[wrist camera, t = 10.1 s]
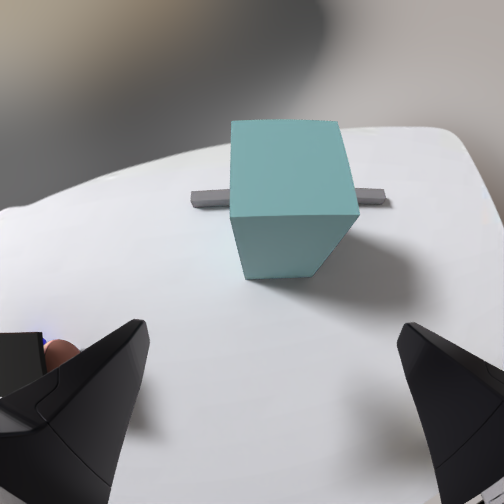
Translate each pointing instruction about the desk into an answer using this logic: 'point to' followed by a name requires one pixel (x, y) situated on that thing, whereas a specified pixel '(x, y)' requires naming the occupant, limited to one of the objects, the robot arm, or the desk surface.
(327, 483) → the desk surface
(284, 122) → the tea box
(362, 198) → the price rail
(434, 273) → the desk surface
